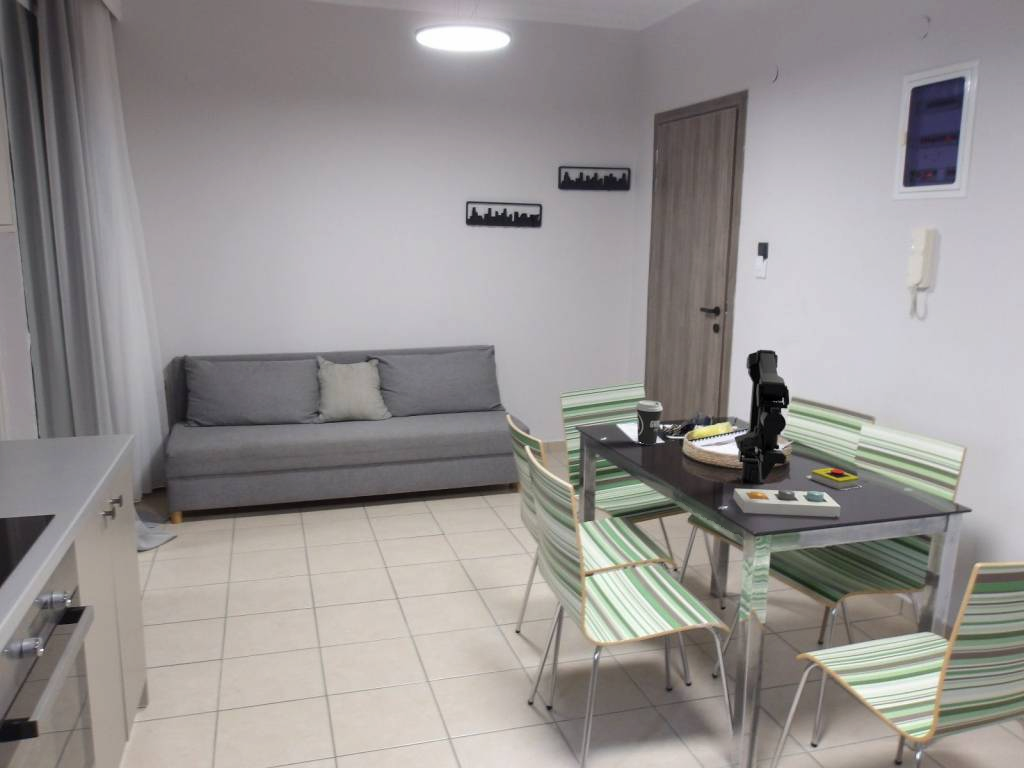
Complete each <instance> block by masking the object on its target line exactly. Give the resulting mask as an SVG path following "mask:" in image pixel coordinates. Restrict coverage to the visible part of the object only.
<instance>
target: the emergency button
mask: <svg viewBox="0 0 1024 768" xmlns="http://www.w3.org/2000/svg"><path fill="white" fill-rule="evenodd" d="M805 477H806V479H809V480H812V481H814V482H816V483H817V482H818V483H820V484H823V485H825V486H828V487H831V488H834V489H836V490H839V491H843V490H845V491H849V490H848V489H851V487H854V486H855V487H854V489H853V490H856V489H855V488H857V489H862V488H863V486H862V485H860V484H859V483H860V480H859V479H860V478H859V476H856V475H853V474H851V473H849V472H848V473H847V472H845V471H843V470H842V469H837V468H836V469H835V468H832V467H827V468H822V469H821V468H820V469H815V470H814V469H813V470H812V471H811V475H806V476H805ZM857 486H860V488H858V487H857ZM861 487H862V488H861ZM851 490H852V489H851Z"/></svg>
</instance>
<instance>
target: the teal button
mask: <svg viewBox="0 0 1024 768" xmlns="http://www.w3.org/2000/svg"><path fill="white" fill-rule="evenodd" d="M806 492H807V498H806V500H807V501H811V502H823V498H824V494H823V493H821V491H816V490H808V491H806Z"/></svg>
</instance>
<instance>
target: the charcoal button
mask: <svg viewBox="0 0 1024 768" xmlns="http://www.w3.org/2000/svg"><path fill="white" fill-rule="evenodd" d="M793 491H794V490H788V489H779V491H778V499H779V500H788V501H794V497H795V493H794V492H793Z"/></svg>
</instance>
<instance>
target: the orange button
mask: <svg viewBox="0 0 1024 768" xmlns="http://www.w3.org/2000/svg"><path fill="white" fill-rule="evenodd" d="M749 498H750V499H765V498H766V494H764V493H762V492H750V493H749Z"/></svg>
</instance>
